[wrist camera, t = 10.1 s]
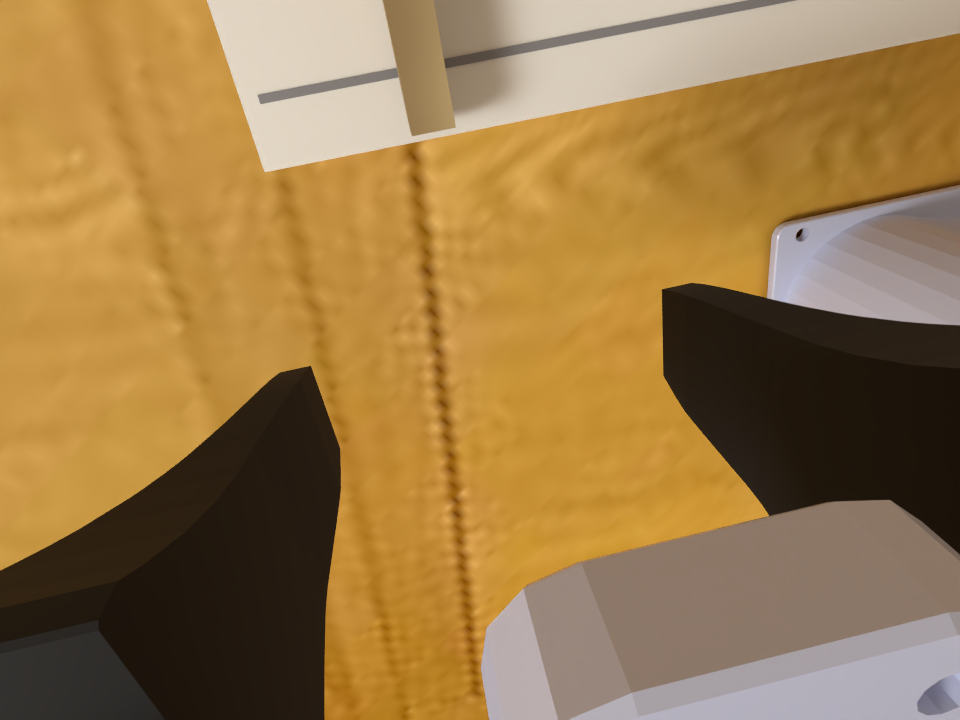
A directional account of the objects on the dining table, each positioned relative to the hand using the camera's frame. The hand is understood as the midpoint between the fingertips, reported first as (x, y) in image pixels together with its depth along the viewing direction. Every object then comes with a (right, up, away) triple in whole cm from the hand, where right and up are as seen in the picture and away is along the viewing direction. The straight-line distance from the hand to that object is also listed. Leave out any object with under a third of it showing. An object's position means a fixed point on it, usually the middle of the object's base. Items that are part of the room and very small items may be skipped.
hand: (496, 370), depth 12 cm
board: (+3, +11, +6) cm, 13 cm away
